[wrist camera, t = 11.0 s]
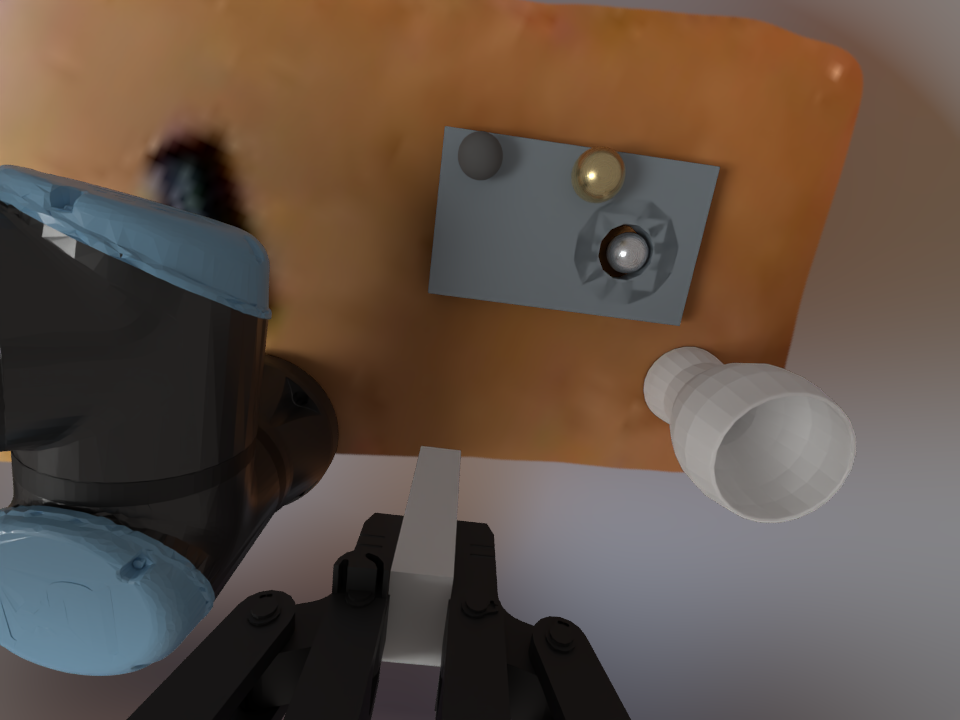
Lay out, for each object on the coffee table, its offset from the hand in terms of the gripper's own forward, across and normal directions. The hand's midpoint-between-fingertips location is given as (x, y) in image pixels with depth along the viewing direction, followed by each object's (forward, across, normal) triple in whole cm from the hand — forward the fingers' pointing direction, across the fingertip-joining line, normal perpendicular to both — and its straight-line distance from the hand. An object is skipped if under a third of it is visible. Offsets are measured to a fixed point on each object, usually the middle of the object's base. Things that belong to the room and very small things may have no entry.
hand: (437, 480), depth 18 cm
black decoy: (+22, 0, +14) cm, 27 cm away
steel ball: (+25, +13, +9) cm, 30 cm away
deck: (+26, +8, +10) cm, 29 cm away
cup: (+27, +22, -2) cm, 35 cm away
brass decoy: (+22, +9, +14) cm, 28 cm away
